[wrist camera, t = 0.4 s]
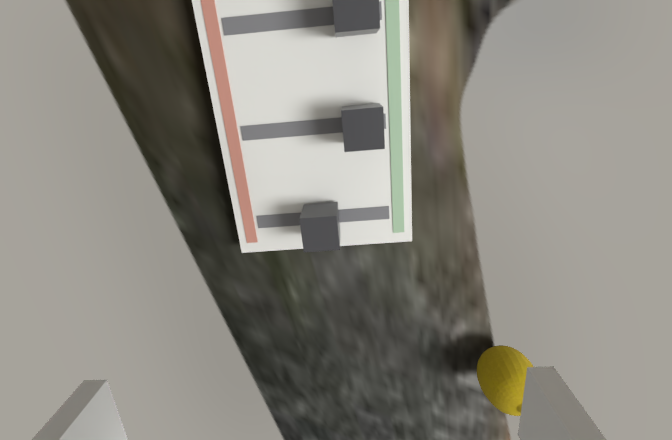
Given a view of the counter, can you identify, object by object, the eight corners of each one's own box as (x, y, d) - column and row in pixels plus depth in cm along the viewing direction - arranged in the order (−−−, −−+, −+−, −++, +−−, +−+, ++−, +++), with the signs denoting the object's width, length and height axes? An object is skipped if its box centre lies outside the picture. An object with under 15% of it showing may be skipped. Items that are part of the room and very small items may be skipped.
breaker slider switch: (303, 204, 33) (299, 218, 30) (337, 201, 33) (336, 215, 30) (307, 235, 34) (303, 252, 31) (340, 232, 34) (340, 249, 31)
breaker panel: (198, -11, 29) (187, -17, 27) (403, -33, 29) (408, -41, 27) (246, 243, 37) (241, 253, 35) (408, 232, 37) (412, 241, 35)
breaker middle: (341, 106, 30) (341, 110, 27) (379, 102, 30) (383, 106, 27) (344, 143, 31) (344, 152, 28) (380, 140, 31) (384, 148, 28)
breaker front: (332, -9, 27) (330, -20, 24) (374, -13, 27) (378, -25, 24) (336, 37, 28) (334, 32, 25) (376, 33, 28) (380, 28, 25)
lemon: (515, 325, 40) (553, 382, 33) (520, 364, 42) (558, 427, 35) (463, 336, 41) (489, 395, 34) (471, 374, 43) (498, 438, 35)
